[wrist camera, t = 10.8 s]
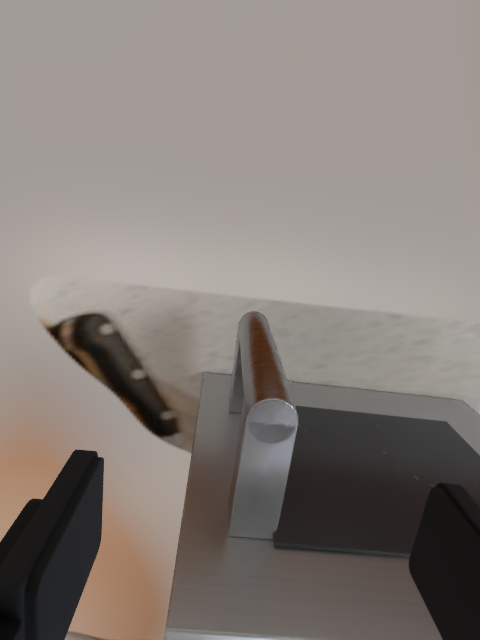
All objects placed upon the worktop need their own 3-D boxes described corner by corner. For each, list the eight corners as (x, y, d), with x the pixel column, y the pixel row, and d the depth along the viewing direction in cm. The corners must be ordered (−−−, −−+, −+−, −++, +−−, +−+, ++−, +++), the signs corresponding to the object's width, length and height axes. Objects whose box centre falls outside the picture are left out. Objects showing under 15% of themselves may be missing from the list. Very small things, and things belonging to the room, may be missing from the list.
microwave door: (212, 292, 29) (183, 456, 11) (487, 326, 31) (893, 523, 12) (201, 389, 32) (161, 665, 13) (457, 416, 33) (758, 702, 14)
